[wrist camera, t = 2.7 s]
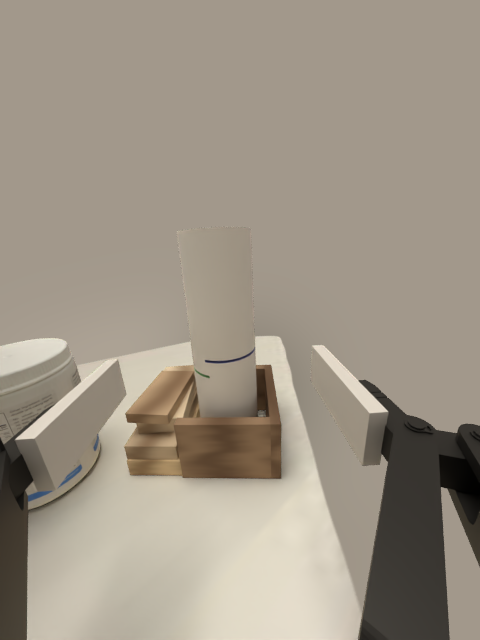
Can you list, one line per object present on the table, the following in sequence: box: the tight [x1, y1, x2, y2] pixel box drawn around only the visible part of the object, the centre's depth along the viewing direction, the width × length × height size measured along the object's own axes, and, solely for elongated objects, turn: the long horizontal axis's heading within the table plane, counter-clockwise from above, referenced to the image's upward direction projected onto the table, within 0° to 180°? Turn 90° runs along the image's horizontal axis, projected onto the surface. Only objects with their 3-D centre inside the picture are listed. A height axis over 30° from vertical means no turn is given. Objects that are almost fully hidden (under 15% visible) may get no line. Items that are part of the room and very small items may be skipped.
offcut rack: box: [124, 365, 281, 478], centre depth 30 cm, size 17×15×7 cm
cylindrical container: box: [177, 227, 258, 418], centre depth 26 cm, size 7×7×25 cm
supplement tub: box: [0, 338, 100, 510], centre depth 24 cm, size 10×10×15 cm
